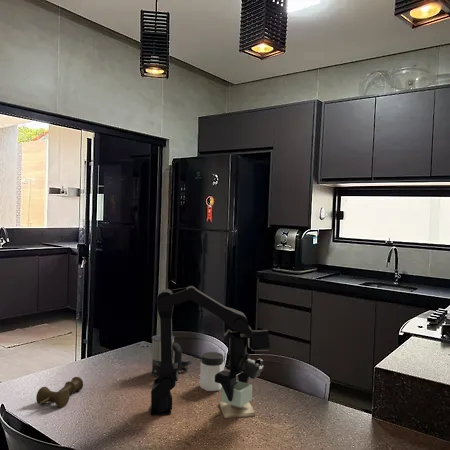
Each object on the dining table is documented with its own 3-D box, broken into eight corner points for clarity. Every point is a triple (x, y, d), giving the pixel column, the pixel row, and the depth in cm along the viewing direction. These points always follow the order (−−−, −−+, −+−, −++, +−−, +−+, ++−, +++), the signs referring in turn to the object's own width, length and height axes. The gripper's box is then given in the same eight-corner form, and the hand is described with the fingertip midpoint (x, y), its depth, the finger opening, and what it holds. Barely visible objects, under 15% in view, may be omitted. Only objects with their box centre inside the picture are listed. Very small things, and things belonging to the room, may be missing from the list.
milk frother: (146, 375, 172) (147, 338, 172) (164, 363, 187) (164, 329, 187) (179, 380, 168) (180, 342, 167) (194, 367, 183) (195, 332, 182)
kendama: (89, 392, 156) (51, 415, 137) (67, 389, 159) (26, 411, 140) (89, 376, 156) (51, 396, 137) (67, 373, 159) (27, 392, 140)
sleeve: (221, 401, 142) (221, 386, 142) (233, 394, 148) (233, 379, 148) (240, 407, 138) (240, 392, 138) (251, 399, 144) (252, 384, 144)
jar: (227, 388, 161) (228, 356, 161) (210, 393, 156) (211, 360, 156) (213, 380, 168) (213, 350, 168) (196, 385, 163) (196, 354, 163)
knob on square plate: (224, 417, 138) (225, 399, 137) (219, 404, 147) (219, 386, 147) (255, 415, 139) (255, 397, 139) (247, 402, 149) (247, 385, 149)
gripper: (244, 363, 131) (242, 414, 131) (272, 348, 146) (271, 393, 147) (214, 355, 137) (212, 404, 137) (244, 342, 152) (243, 385, 153)
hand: (236, 397), depth 143 cm, fingers closed on sleeve, 7 cm apart
